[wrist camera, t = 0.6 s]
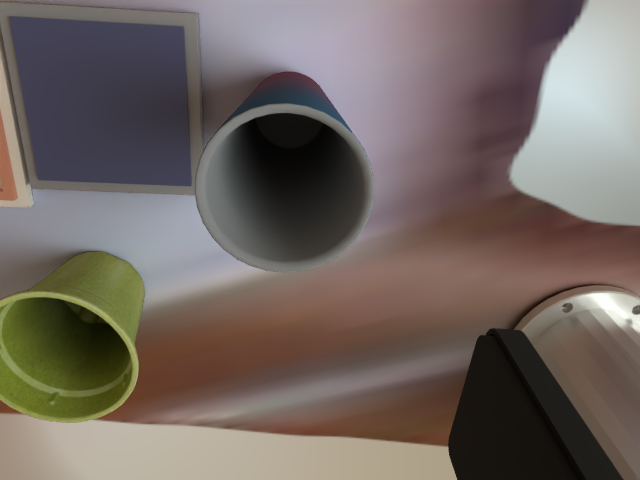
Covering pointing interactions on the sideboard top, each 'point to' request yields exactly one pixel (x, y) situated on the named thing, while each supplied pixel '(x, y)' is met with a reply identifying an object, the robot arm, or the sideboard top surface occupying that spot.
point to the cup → (285, 179)
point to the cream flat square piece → (11, 145)
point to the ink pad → (106, 96)
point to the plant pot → (72, 340)
